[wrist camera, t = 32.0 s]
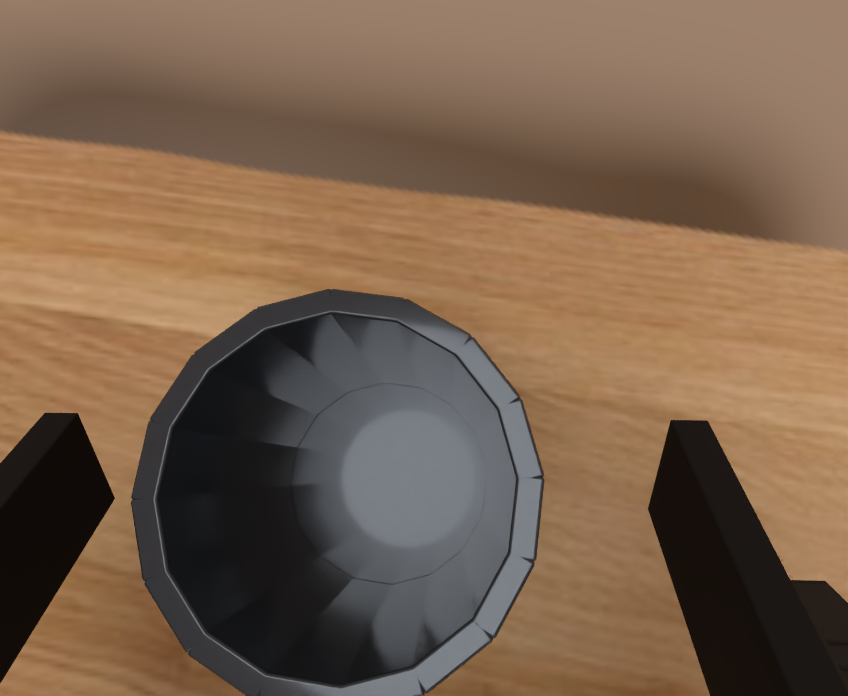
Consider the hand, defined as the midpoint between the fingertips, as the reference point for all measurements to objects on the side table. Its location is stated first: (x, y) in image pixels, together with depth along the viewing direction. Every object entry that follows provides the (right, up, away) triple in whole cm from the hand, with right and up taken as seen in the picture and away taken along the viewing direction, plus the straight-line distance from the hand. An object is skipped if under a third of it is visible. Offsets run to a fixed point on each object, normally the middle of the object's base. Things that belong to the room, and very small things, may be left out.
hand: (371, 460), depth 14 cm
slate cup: (0, -2, +7) cm, 7 cm away
